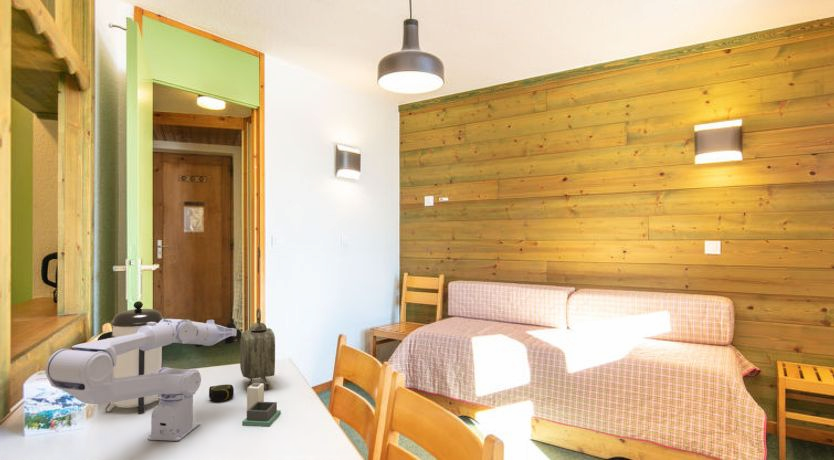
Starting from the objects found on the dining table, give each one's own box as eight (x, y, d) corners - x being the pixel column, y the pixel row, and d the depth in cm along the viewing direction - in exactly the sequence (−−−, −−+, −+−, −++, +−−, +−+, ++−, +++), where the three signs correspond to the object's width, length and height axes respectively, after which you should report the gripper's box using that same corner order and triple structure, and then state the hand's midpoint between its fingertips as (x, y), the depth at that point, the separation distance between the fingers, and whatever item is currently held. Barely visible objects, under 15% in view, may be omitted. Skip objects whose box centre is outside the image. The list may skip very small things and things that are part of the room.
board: (269, 426, 115) (269, 412, 115) (242, 425, 116) (242, 411, 116) (280, 413, 123) (280, 401, 123) (255, 412, 124) (255, 400, 124)
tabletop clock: (274, 390, 141) (275, 311, 142) (244, 394, 137) (245, 313, 137) (267, 377, 154) (268, 304, 154) (239, 380, 150) (240, 306, 150)
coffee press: (162, 391, 139) (163, 295, 139) (170, 408, 126) (171, 302, 126) (94, 404, 129) (95, 300, 129) (94, 423, 116) (96, 308, 116)
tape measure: (233, 394, 138) (233, 381, 138) (233, 401, 132) (233, 389, 132) (208, 397, 136) (209, 384, 136) (208, 405, 129) (208, 392, 129)
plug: (257, 409, 126) (258, 386, 126) (246, 409, 127) (247, 385, 127) (263, 404, 130) (264, 381, 130) (253, 403, 131) (253, 381, 131)
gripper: (223, 315, 120) (251, 320, 133) (175, 321, 122) (207, 325, 135) (222, 342, 118) (250, 344, 131) (173, 347, 120) (205, 349, 133)
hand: (228, 336), depth 133 cm, fingers open, 7 cm apart
